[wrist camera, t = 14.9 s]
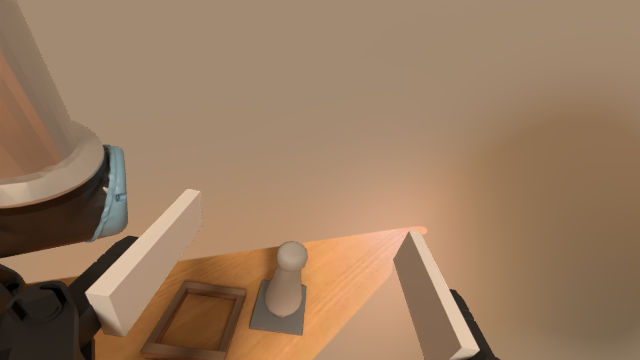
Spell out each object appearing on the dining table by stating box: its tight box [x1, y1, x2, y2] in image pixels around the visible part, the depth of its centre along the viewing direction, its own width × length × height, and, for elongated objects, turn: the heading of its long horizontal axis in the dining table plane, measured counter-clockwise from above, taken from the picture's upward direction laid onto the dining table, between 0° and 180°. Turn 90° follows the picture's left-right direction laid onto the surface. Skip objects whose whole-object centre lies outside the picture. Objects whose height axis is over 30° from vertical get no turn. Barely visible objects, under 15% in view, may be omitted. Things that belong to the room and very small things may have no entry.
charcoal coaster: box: [249, 280, 307, 336], centre depth 38 cm, size 8×8×1 cm
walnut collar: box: [141, 281, 246, 360], centre depth 33 cm, size 10×10×2 cm
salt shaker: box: [265, 241, 308, 319], centre depth 35 cm, size 6×6×13 cm
